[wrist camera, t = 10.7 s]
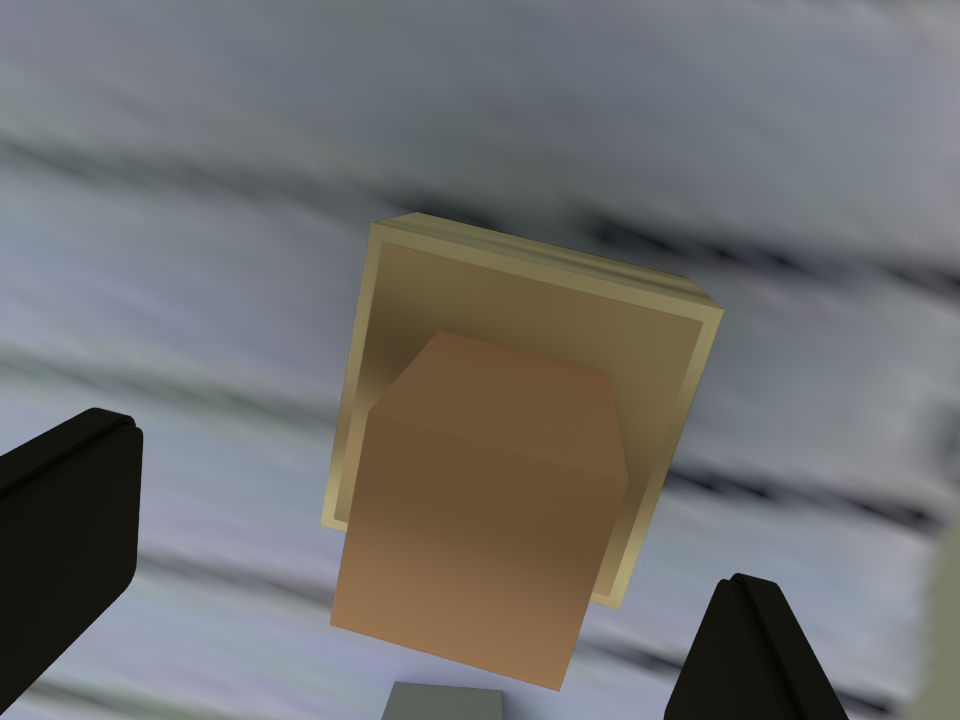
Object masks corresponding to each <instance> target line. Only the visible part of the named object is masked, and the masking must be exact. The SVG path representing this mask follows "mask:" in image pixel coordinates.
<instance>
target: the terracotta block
mask: <svg viewBox="0 0 960 720" xmlns="http://www.w3.org/2000/svg"><path fill="white" fill-rule="evenodd" d="M628 482H629V479H628V474H627V468H626V463H625V457H624V452H623V446H622V441H621V435H620V430H619V424H618V418H617V413H616V407H615V402H614V396H613V391H612V385H611V380H610V374H609V373H606V372H602V371H598V370H594V369H590V368H586V367H582V366H579V365H575V364H571V363H567V362H563V361H559V360H555V359H551V358H547V357H543V356H539V355H535V354H531V353H527V352H524V351H520V350H516V349H512V348H508V347H504V346H500V345H496V344H492V343H488V342H484V341H480V340H476V339H473V338H469V337H465V336H461V335H457V334H453V333H449V332H445V331H441V330H439V331H438V332H437V333H436V334H435V336H434V337H433V338H432V339H431V340H430V341H429V342H428V344H427V345H426V346H425V347H424V348H423V349H422V351H421V352H420V353H419V354H418V355H417V356H416V357H415V359H414V360H413V361H412V362H411V363H410V364H409V365H408V367H407V368H406V369H405V370H404V371H403V372H402V374H401V375H400V376H399V377H398V378H397V379H396V380H395V382H394V383H393V384H392V385H391V386H390V387H389V388H388V390H387V391H386V392H385V393H384V394H383V395H382V397H381V398H380V399H379V400H378V401H377V402H376V403H375V405H374V406H373V407H372V408H371V409H370V410H369V411H368V416H367V421H366V427H365V432H364V438H363V444H362V449H361V455H360V460H359V466H358V471H357V477H356V482H355V488H354V493H353V499H352V504H351V510H350V515H349V521H348V526H347V532H346V537H345V543H344V548H343V554H342V559H341V565H340V571H339V576H338V582H337V587H336V593H335V598H334V604H333V609H332V615H331V620H330V625H332V626H336V627H339V628H343V629H346V630H350V631H353V632H356V633H360V634H363V635H367V636H370V637H374V638H377V639H380V640H384V641H387V642H391V643H394V644H397V645H401V646H404V647H408V648H411V649H415V650H418V651H421V652H425V653H428V654H432V655H435V656H439V657H442V658H445V659H449V660H452V661H456V662H459V663H462V664H466V665H469V666H473V667H476V668H480V669H483V670H486V671H490V672H493V673H497V674H500V675H503V676H507V677H510V678H514V679H517V680H521V681H524V682H527V683H531V684H534V685H538V686H541V687H545V688H548V689H551V690H555V691H558V692H559V691H560V688H561V685H562V682H563V679H564V676H565V673H566V670H567V667H568V664H569V661H570V658H571V655H572V652H573V649H574V646H575V643H576V640H577V637H578V634H579V631H580V628H581V625H582V622H583V619H584V616H585V612H586V609H587V606H588V603H589V600H590V597H591V594H592V591H593V588H594V585H595V582H596V579H597V576H598V573H599V570H600V567H601V564H602V561H603V558H604V555H605V552H606V549H607V546H608V543H609V540H610V537H611V534H612V531H613V528H614V525H615V522H616V518H617V515H618V512H619V509H620V506H621V503H622V500H623V497H624V494H625V491H626V488H627V485H628Z"/></svg>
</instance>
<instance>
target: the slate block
mask: <svg viewBox="0 0 960 720" xmlns="http://www.w3.org/2000/svg"><path fill="white" fill-rule="evenodd" d="M381 720H503V693H502V691H500V690H488V689H475V688H463V687H450V686H438V685H425V684H412V683H400V682H394V685H393V688H392V691H391V694H390V696H389V699H388V702H387V705H386V708H385V711H384V713H383V716H382V719H381Z"/></svg>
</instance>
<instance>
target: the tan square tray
mask: <svg viewBox="0 0 960 720" xmlns="http://www.w3.org/2000/svg"><path fill="white" fill-rule="evenodd" d="M723 313H724V309H722V308H721V307H720V306H719V305H718V304H717V303H716V302H715V301H713V300H712V299H711V298H710V297H709V296H708V295H707V294H706V293H704V292H703V291H702V290H701V289H700V288H699V287H698V286H697V285H696V284H694V283H693V282H692V281H691V280H690V279H689V278H685V277H680V276H676V275H672V274H668V273H664V272H660V271H656V270H652V269H648V268H644V267H640V266H636V265H631V264H627V263H623V262H619V261H615V260H611V259H607V258H603V257H599V256H595V255H591V254H587V253H583V252H578V251H574V250H570V249H566V248H562V247H558V246H554V245H550V244H546V243H542V242H538V241H534V240H529V239H525V238H521V237H517V236H513V235H509V234H505V233H501V232H497V231H493V230H489V229H485V228H481V227H476V226H472V225H468V224H464V223H460V222H456V221H452V220H448V219H444V218H440V217H436V216H432V215H427V214H423V213H419V212H415V213H411V214H407V215H403V216H398V217H394V218H390V219H385V220H381V221H377V222H372V223H371V227H370V233H369V238H368V244H367V250H366V256H365V262H364V268H363V274H362V280H361V286H360V292H359V298H358V303H357V309H356V315H355V321H354V327H353V333H352V339H351V345H350V351H349V357H348V363H347V368H346V374H345V380H344V386H343V392H342V398H341V404H340V410H339V416H338V422H337V428H336V433H335V439H334V445H333V451H332V457H331V463H330V469H329V475H328V481H327V487H326V493H325V498H324V504H323V510H322V516H321V522H320V525H321V526H324V527H328V528H332V529H335V530H339V531H342V532H347V526H348V521H349V515H350V510H351V504H352V499H353V493H354V488H355V482H356V477H357V471H358V466H359V460H360V455H361V449H362V444H363V438H364V432H365V427H366V421H367V416H368V411H369V410H370V409H371V408H372V407H373V406H374V405H375V403H376V402H377V401H378V400H379V399H380V398H381V397H382V395H383V394H384V393H385V392H386V391H387V390H388V388H389V387H390V386H391V385H392V384H393V383H394V382H395V380H396V379H397V378H398V377H399V376H400V375H401V374H402V372H403V371H404V370H405V369H406V368H407V367H408V365H409V364H410V363H411V362H412V361H413V360H414V359H415V357H416V356H417V355H418V354H419V353H420V352H421V351H422V349H423V348H424V347H425V346H426V345H427V344H428V342H429V341H430V340H431V339H432V338H433V337H434V336H435V334H436V333H437V332H438V331H439V330H441V331H445V332H449V333H453V334H457V335H461V336H465V337H469V338H473V339H476V340H480V341H484V342H488V343H492V344H496V345H500V346H504V347H508V348H512V349H516V350H520V351H524V352H527V353H531V354H535V355H539V356H543V357H547V358H551V359H555V360H559V361H563V362H567V363H571V364H575V365H579V366H582V367H586V368H590V369H594V370H598V371H602V372H606V373H609V374H610V380H611V385H612V391H613V396H614V402H615V407H616V413H617V418H618V424H619V430H620V435H621V441H622V446H623V452H624V457H625V463H626V468H627V474H628V479H629V482H628V485H627V488H626V491H625V494H624V497H623V500H622V503H621V506H620V509H619V512H618V515H617V518H616V522H615V525H614V528H613V531H612V534H611V537H610V540H609V543H608V546H607V549H606V552H605V555H604V558H603V561H602V564H601V567H600V570H599V573H598V576H597V579H596V582H595V585H594V588H593V591H592V594H591V597H590V600H589V602H592V603H596V604H599V605H603V606H606V607H610V608H613V609H617V610H619V608H620V605H621V602H622V599H623V596H624V593H625V591H626V588H627V585H628V582H629V579H630V576H631V574H632V571H633V568H634V565H635V562H636V559H637V557H638V554H639V551H640V548H641V545H642V542H643V540H644V537H645V534H646V531H647V528H648V525H649V523H650V520H651V517H652V514H653V511H654V508H655V506H656V503H657V500H658V497H659V494H660V491H661V489H662V486H663V483H664V480H665V477H666V474H667V472H668V469H669V466H670V463H671V460H672V457H673V455H674V452H675V449H676V446H677V443H678V440H679V438H680V435H681V432H682V429H683V426H684V423H685V421H686V418H687V415H688V412H689V409H690V406H691V404H692V401H693V398H694V395H695V392H696V389H697V387H698V384H699V381H700V378H701V375H702V372H703V370H704V367H705V364H706V361H707V358H708V355H709V352H710V350H711V347H712V344H713V341H714V338H715V335H716V333H717V330H718V327H719V324H720V321H721V318H722V316H723Z"/></svg>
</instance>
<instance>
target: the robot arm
mask: <svg viewBox="0 0 960 720" xmlns="http://www.w3.org/2000/svg"><path fill="white" fill-rule="evenodd" d="M142 454H143V432H142V430H141V429H140V428H138V427H136V424H135V421H134V419H133V418H132V417H131V416H128V415H124V414H120V413H116V412H112V411H108V410H105V409H101V408H95V407H93V408H90V409H88V410H86V411H84V412H82V413H80V414H78V415H76V416H75V417H73V418H71V419H69V420H67V421H65V422H63V423H62V424H60V425H58V426H56V427H54V428H52V429H50V430H49V431H47V432H45V433H43V434H41V435H39V436H37V437H36V438H34V439H32V440H30V441H28V442H26V443H24V444H23V445H21V446H19V447H17V448H15V449H13V450H11V451H10V452H8V453H6V454H4V455H2V456H0V716H1V715H2V714H3V713H4V712H5V711H6V710H7V709H8V708H9V707H10V706H11V705H12V704H13V703H14V702H15V701H16V700H17V698H18V697H19V696H20V695H21V694H22V693H23V692H24V691H25V690H26V689H27V688H28V687H29V686H30V685H31V684H32V683H33V682H34V681H35V680H36V679H37V678H38V677H39V676H40V675H41V674H42V673H43V672H44V671H45V670H46V669H47V668H48V667H49V666H50V665H51V664H52V663H53V662H54V661H55V660H56V659H57V658H58V657H59V656H60V655H61V654H62V653H63V652H64V651H65V650H66V649H67V648H68V647H69V646H70V645H71V644H72V643H73V642H74V641H75V640H76V639H77V638H78V637H79V636H80V635H81V634H82V633H83V632H84V631H85V630H86V629H87V628H88V627H89V626H90V625H91V624H92V623H93V622H94V621H95V620H96V619H97V618H98V617H99V616H100V615H101V614H102V613H103V612H104V611H105V610H106V609H107V608H108V607H109V606H110V605H111V604H112V603H113V602H114V601H115V600H116V599H117V598H118V597H119V596H120V595H121V594H122V593H123V592H124V591H125V590H126V588H127V587H128V586H129V584H130V582H131V581H132V578H133V576H134V573H135V570H136V563H137V545H138V527H139V509H140V491H141V472H142ZM664 720H849V719H848V717H847V715H846V713H845V711H844V709H843V707H842V705H841V703H840V701H839V700H838V698H837V696H836V694H835V692H834V690H833V688H832V686H831V684H830V682H829V681H828V679H827V677H826V675H825V673H824V671H823V669H822V667H821V665H820V663H819V661H818V660H817V658H816V656H815V654H814V652H813V650H812V648H811V646H810V644H809V642H808V640H807V639H806V637H805V635H804V633H803V631H802V629H801V627H800V625H799V623H798V621H797V620H796V618H795V616H794V614H793V612H792V610H791V608H790V606H789V604H788V602H787V600H786V599H785V597H784V595H783V593H782V591H781V589H780V587H779V586H778V585H777V583H774V582H772V581H768V580H764V579H760V578H756V577H752V576H749V575H745V574H741V573H736V574H734V575H733V576H732V577H731V579H730V580H726V579H722V580H720V582H719V583H718V584H717V586H716V589H715V591H714V593H713V596H712V598H711V601H710V603H709V605H708V608H707V610H706V613H705V615H704V617H703V620H702V622H701V625H700V627H699V630H698V632H697V634H696V637H695V639H694V642H693V644H692V646H691V649H690V651H689V654H688V656H687V658H686V661H685V663H684V666H683V668H682V670H681V673H680V675H679V678H678V680H677V683H676V685H675V687H674V690H673V692H672V695H671V697H670V699H669V702H668V704H667V707H666V710H665V714H664Z"/></svg>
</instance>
